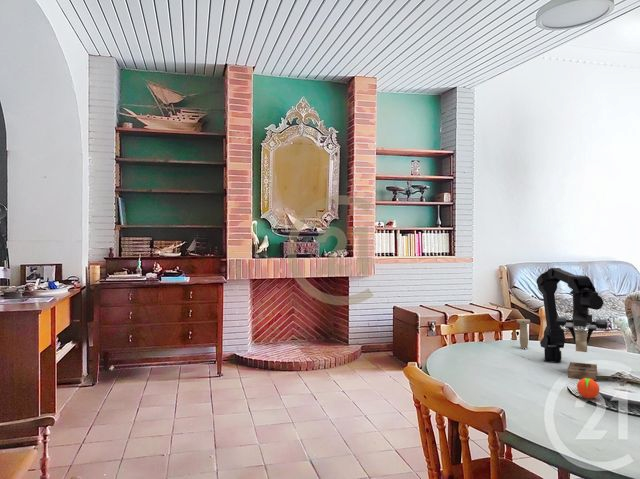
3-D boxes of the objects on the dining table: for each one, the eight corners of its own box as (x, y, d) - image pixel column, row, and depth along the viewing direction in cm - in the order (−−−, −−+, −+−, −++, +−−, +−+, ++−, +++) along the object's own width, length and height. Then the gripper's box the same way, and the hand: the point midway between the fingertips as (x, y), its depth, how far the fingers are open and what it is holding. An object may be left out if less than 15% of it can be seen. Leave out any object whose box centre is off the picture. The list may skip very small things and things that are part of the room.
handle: (531, 350, 239) (530, 320, 239) (517, 349, 241) (516, 320, 241) (530, 348, 243) (530, 319, 243) (517, 347, 246) (516, 318, 246)
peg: (575, 351, 195) (575, 331, 195) (576, 349, 198) (576, 330, 198) (586, 352, 193) (586, 332, 192) (587, 350, 196) (586, 331, 196)
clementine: (599, 403, 160) (598, 382, 160) (576, 400, 164) (575, 379, 164) (599, 396, 167) (599, 376, 167) (577, 393, 171) (577, 374, 171)
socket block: (567, 377, 190) (567, 370, 190) (570, 368, 203) (570, 361, 203) (596, 380, 185) (596, 373, 185) (597, 371, 198) (596, 364, 198)
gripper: (553, 307, 193) (554, 345, 193) (606, 310, 183) (607, 350, 183) (556, 303, 203) (557, 339, 203) (606, 306, 193) (607, 344, 193)
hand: (581, 343), depth 195 cm, fingers closed on peg, 4 cm apart
